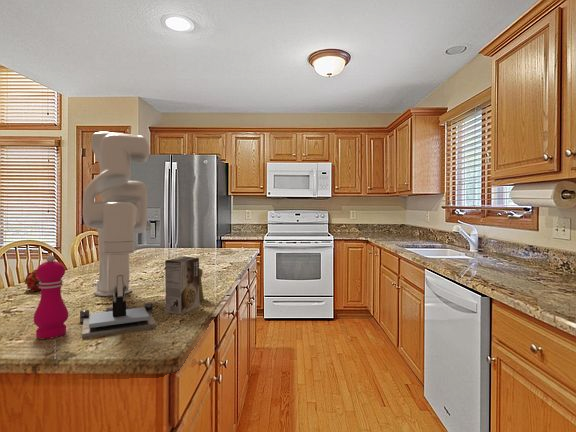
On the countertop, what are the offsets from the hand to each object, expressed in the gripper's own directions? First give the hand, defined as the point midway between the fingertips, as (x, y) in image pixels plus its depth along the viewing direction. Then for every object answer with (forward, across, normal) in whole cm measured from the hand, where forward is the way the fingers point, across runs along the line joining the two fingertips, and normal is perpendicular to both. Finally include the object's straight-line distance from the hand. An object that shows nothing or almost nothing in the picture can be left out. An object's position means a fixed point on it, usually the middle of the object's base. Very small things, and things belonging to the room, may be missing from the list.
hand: (119, 315), depth 94 cm
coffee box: (+3, -8, +18) cm, 20 cm away
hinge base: (+3, -2, 0) cm, 4 cm away
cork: (+3, -19, +25) cm, 31 cm away
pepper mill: (+3, -1, -15) cm, 16 cm away
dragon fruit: (+3, -62, -26) cm, 67 cm away
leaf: (+2, -3, 0) cm, 3 cm away
